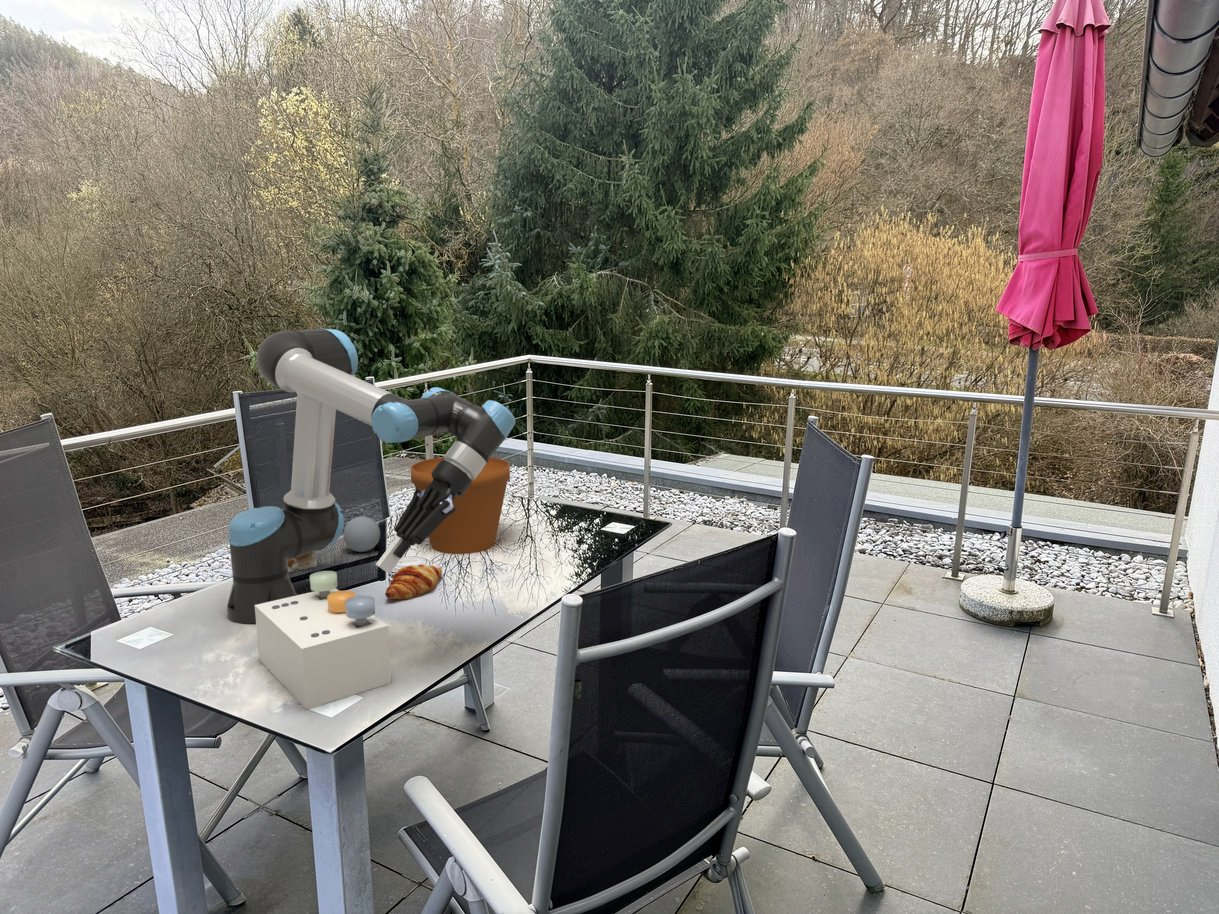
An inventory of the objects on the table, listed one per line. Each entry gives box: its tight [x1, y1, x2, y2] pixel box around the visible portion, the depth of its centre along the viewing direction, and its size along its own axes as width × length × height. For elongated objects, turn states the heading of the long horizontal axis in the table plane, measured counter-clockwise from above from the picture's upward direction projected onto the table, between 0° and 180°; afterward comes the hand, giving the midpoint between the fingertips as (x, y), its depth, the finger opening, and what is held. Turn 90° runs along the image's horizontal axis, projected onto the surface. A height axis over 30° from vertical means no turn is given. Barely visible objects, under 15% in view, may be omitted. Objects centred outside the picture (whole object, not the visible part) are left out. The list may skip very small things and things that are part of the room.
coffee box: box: [287, 551, 318, 573], centre depth 215 cm, size 9×6×16 cm
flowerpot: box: [410, 456, 511, 555], centre depth 236 cm, size 28×28×24 cm
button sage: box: [309, 570, 339, 600], centre depth 165 cm, size 5×5×6 cm
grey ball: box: [342, 516, 381, 553], centre depth 230 cm, size 10×10×10 cm
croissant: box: [384, 564, 443, 600], centre depth 201 cm, size 21×10×8 cm, turn 157°
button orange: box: [327, 590, 356, 613], centre depth 159 cm, size 5×5×6 cm
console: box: [255, 587, 392, 711], centre depth 157 cm, size 16×26×12 cm, turn 40°
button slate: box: [345, 595, 376, 628], centre depth 152 cm, size 5×5×6 cm
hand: (382, 568), depth 153 cm, fingers closed
